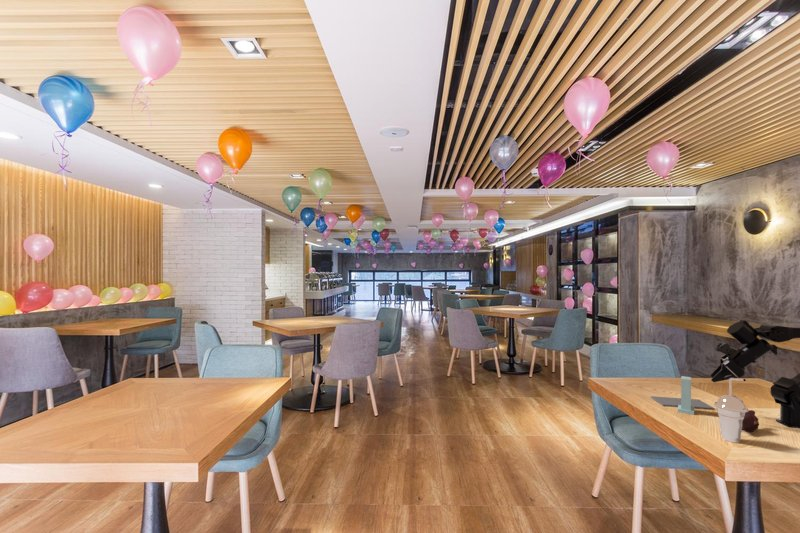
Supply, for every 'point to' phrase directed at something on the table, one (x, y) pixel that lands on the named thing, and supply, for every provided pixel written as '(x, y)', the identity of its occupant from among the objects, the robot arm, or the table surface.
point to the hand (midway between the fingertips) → (711, 378)
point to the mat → (677, 401)
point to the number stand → (686, 396)
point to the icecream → (750, 421)
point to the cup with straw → (731, 414)
